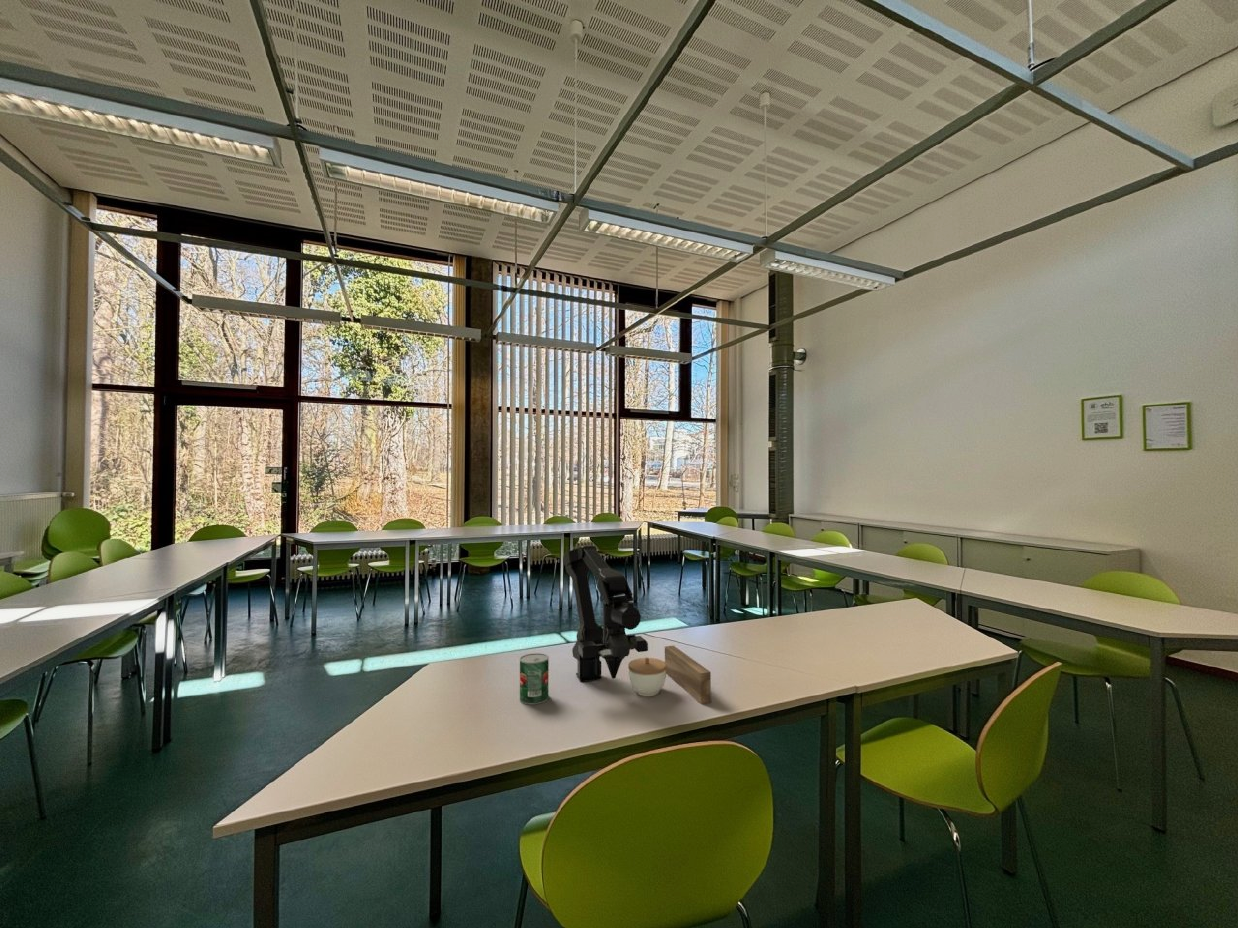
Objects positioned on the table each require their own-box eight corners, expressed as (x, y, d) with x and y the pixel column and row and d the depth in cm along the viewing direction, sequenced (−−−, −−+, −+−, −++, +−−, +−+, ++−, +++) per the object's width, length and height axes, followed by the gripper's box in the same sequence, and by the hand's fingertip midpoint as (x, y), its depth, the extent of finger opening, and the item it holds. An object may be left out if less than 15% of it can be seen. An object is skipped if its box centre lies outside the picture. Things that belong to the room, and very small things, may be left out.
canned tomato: (514, 697, 138) (514, 656, 139) (540, 690, 143) (540, 651, 143) (527, 707, 132) (527, 664, 132) (554, 699, 137) (553, 658, 137)
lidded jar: (620, 692, 141) (620, 658, 142) (646, 681, 149) (645, 649, 149) (648, 703, 134) (648, 667, 134) (674, 691, 141) (674, 657, 142)
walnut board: (700, 703, 133) (700, 673, 134) (664, 672, 156) (664, 646, 156) (710, 702, 134) (710, 671, 134) (673, 671, 157) (673, 645, 157)
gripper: (587, 631, 129) (587, 693, 128) (655, 625, 134) (655, 684, 134) (577, 620, 139) (577, 678, 138) (640, 615, 145) (641, 670, 144)
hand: (613, 678), depth 138 cm, fingers closed
